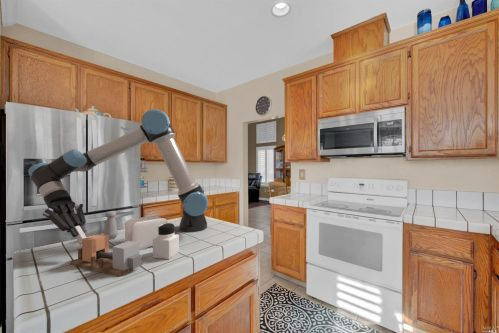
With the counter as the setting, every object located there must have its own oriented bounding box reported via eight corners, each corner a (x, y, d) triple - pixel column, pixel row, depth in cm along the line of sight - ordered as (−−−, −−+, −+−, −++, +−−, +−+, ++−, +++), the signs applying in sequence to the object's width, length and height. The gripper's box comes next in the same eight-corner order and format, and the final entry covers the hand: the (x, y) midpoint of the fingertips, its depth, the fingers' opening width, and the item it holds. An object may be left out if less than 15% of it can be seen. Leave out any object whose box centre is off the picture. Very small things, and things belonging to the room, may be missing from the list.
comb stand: (70, 264, 75) (70, 251, 75) (96, 254, 83) (96, 243, 83) (119, 276, 67) (119, 262, 67) (142, 264, 75) (142, 251, 75)
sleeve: (82, 260, 75) (82, 238, 75) (99, 253, 81) (99, 233, 81) (91, 262, 73) (91, 240, 73) (108, 255, 79) (108, 235, 79)
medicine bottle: (179, 252, 86) (179, 222, 86) (169, 259, 79) (168, 227, 79) (164, 250, 87) (163, 221, 87) (152, 257, 80) (152, 226, 80)
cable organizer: (130, 252, 85) (129, 224, 85) (124, 245, 93) (124, 219, 93) (167, 243, 95) (167, 218, 95) (160, 237, 103) (159, 214, 103)
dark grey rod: (81, 254, 78) (81, 249, 78) (86, 252, 80) (86, 247, 80) (118, 262, 72) (118, 256, 72) (123, 259, 74) (123, 254, 74)
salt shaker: (100, 239, 101) (100, 212, 101) (112, 235, 106) (112, 210, 106) (109, 241, 99) (109, 213, 99) (120, 237, 104) (120, 210, 104)
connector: (112, 268, 70) (112, 246, 70) (128, 260, 76) (128, 240, 76) (129, 271, 67) (129, 249, 67) (144, 263, 73) (144, 243, 73)
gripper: (69, 199, 92) (96, 242, 86) (30, 204, 80) (58, 254, 74) (77, 187, 90) (105, 230, 84) (38, 190, 78) (68, 241, 72)
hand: (83, 241), depth 79 cm, fingers closed
